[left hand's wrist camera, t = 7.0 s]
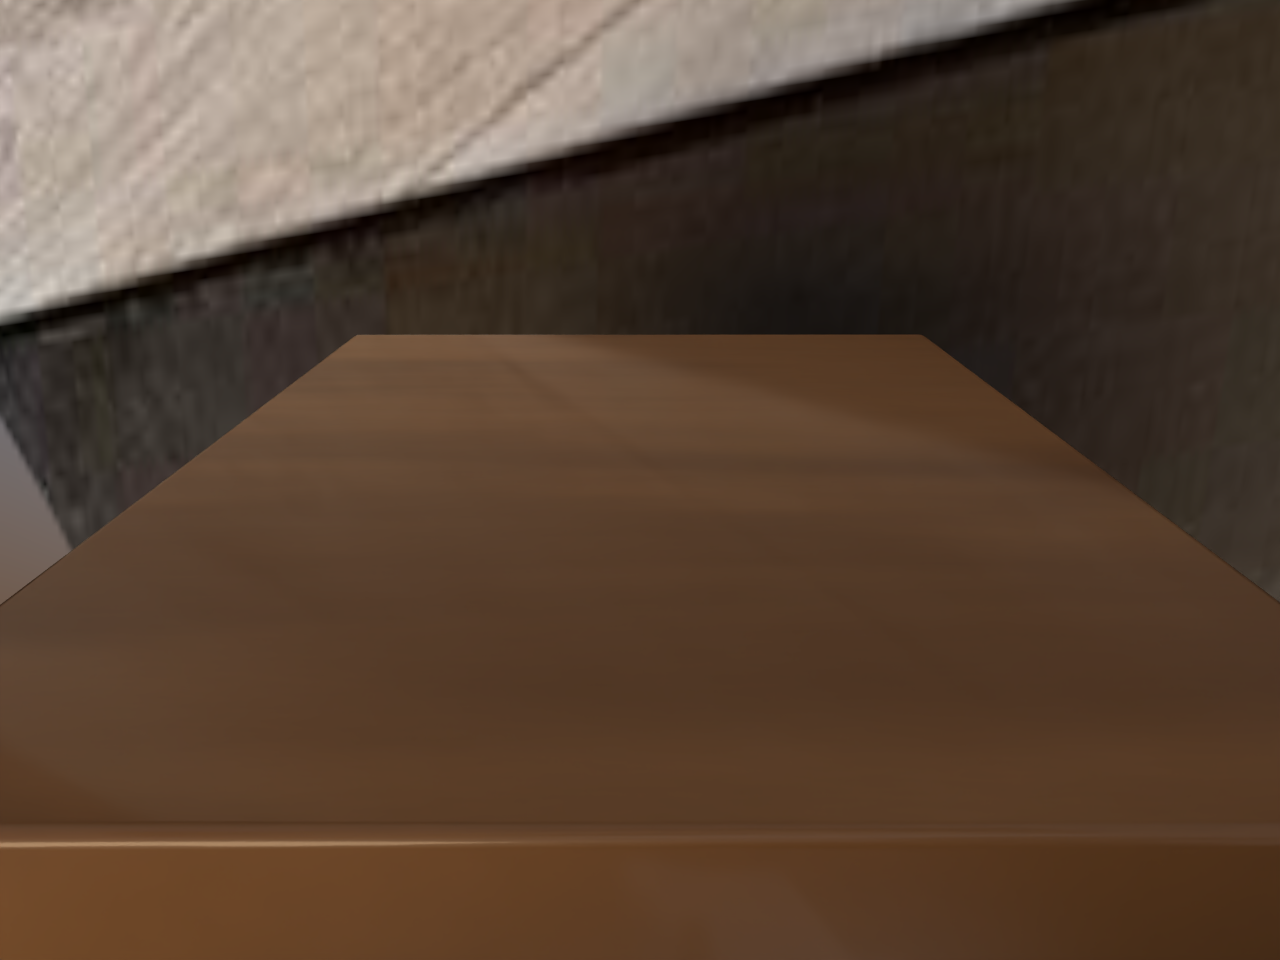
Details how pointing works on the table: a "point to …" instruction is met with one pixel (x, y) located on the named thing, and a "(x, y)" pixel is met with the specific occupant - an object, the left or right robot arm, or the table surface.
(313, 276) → the table surface
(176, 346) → the table surface
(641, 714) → the box
